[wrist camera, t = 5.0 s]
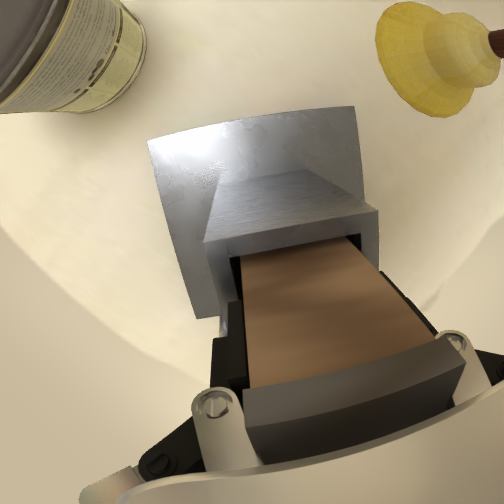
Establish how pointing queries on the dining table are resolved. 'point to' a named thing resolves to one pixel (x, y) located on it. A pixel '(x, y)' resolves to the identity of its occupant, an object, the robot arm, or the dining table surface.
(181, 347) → the dining table surface
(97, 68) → the coffee can
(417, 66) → the handbell
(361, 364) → the walnut post
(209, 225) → the steel stand
